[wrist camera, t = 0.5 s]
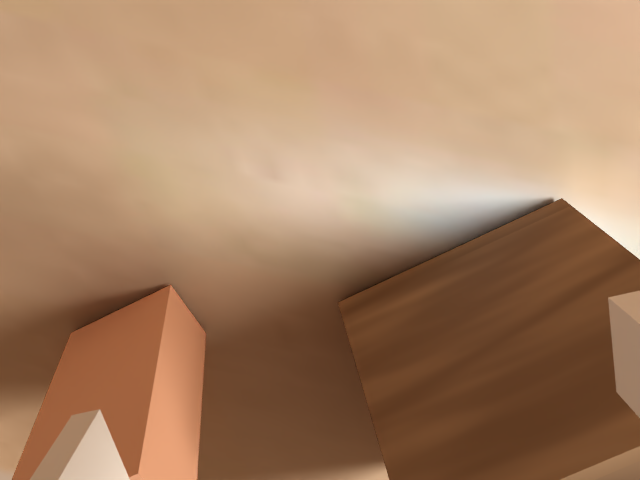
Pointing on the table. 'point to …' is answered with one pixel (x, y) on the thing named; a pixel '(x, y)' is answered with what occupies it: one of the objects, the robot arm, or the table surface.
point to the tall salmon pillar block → (131, 388)
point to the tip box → (501, 357)
